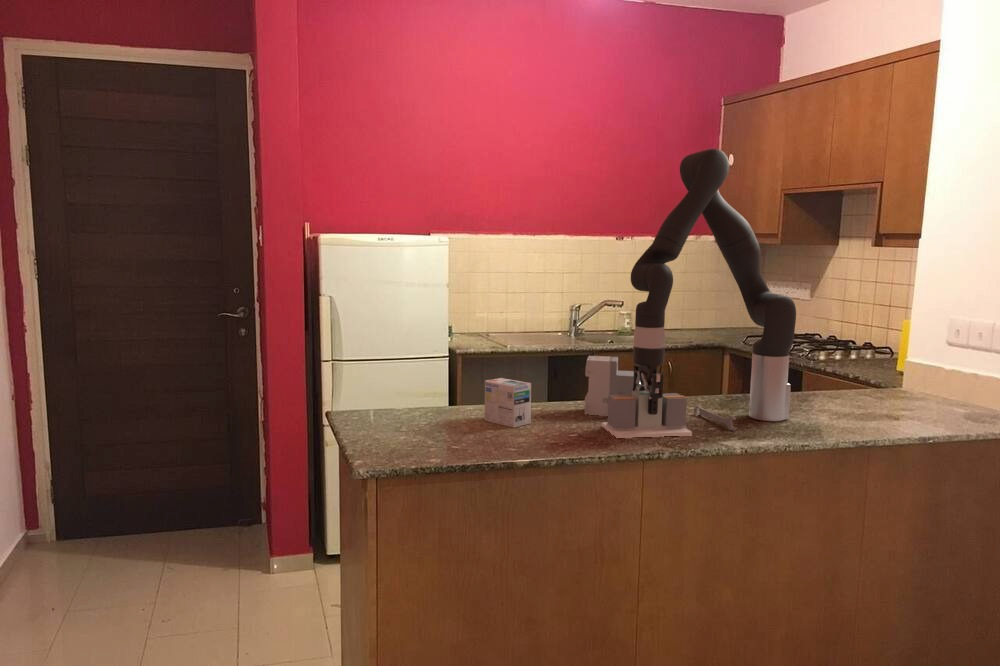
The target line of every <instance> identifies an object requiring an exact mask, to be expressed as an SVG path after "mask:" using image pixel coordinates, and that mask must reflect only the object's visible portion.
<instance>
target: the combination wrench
mask: <svg viewBox="0 0 1000 666" xmlns="http://www.w3.org/2000/svg"><path fill="white" fill-rule="evenodd" d="M698 410H699V412H698ZM693 412H694V414H698V415H701V416H704V417H707V418H708V419H711V420H714V421H717V422H719V423H721V424H724V425H725V426H726V427H727V429H728V430H729V429H730V430H729V431H731V430H733V431H732V432H735V431H736V430H737V429H738V427H735V426H733V425H734V423H733V421H736V420H737V418H736V417H734V416H733V415H731V416H728V417H727V418H725V417H724V416H721V415H718V414H716V413H714V412H711V411H709V410H707V409H704V408H703V407H702V406H701V405H695V406H694V409H693ZM698 415H697V416H698Z"/></svg>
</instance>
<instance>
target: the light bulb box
mask: <svg viewBox="0 0 1000 666" xmlns="http://www.w3.org/2000/svg"><path fill="white" fill-rule="evenodd" d="M531 410H532V383H531V382H526V381H521V380H514V379H508V378H504V377H499V378H494V379H486V380H484V421H485V422H489V423H493V424H497V425H500V426H505V427H510V428H518V427H521V426H522V427H523V426H526V425H530V424H531V420H532V419H531V418H532V416H531V415H532V411H531Z"/></svg>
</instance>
